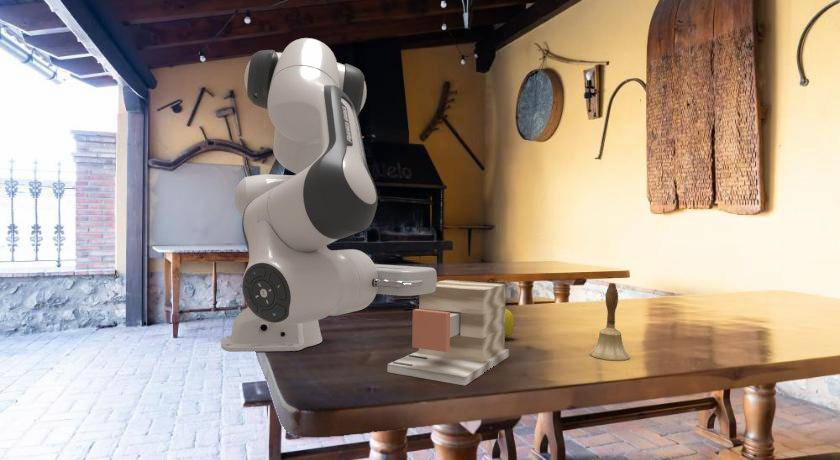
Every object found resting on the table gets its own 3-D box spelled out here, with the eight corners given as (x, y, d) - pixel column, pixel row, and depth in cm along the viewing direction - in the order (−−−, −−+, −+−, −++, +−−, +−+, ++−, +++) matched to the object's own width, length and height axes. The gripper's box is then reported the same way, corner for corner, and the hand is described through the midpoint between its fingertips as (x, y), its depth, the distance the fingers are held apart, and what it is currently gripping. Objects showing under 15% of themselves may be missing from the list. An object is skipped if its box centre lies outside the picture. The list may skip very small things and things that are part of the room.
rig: (465, 385, 92) (466, 297, 92) (387, 372, 99) (388, 290, 99) (508, 356, 113) (510, 284, 112) (441, 347, 120) (442, 279, 120)
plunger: (445, 352, 95) (446, 313, 95) (412, 347, 98) (412, 310, 98) (470, 340, 105) (471, 305, 105) (439, 336, 109) (439, 302, 109)
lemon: (513, 342, 126) (514, 309, 126) (490, 340, 127) (491, 308, 127) (514, 337, 132) (514, 305, 132) (492, 336, 133) (492, 304, 133)
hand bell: (629, 353, 117) (630, 282, 117) (631, 362, 109) (632, 286, 109) (590, 350, 120) (591, 280, 120) (589, 358, 112) (590, 284, 112)
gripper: (411, 262, 69) (454, 257, 81) (291, 255, 79) (346, 252, 91) (410, 310, 69) (454, 297, 81) (291, 297, 79) (346, 288, 91)
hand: (396, 273), depth 86 cm, fingers open, 5 cm apart
